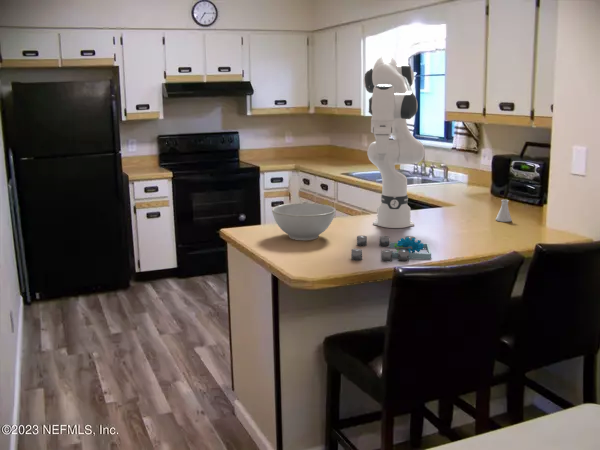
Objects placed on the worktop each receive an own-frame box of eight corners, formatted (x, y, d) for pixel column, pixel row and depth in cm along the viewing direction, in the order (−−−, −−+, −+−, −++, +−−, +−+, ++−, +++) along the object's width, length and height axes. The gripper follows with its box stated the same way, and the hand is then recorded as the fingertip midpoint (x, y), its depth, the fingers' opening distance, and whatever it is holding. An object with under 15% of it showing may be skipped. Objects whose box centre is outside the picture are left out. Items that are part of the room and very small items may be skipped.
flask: (505, 218, 298) (506, 198, 295) (514, 221, 291) (516, 201, 289) (492, 219, 295) (493, 199, 293) (501, 222, 289) (503, 201, 287)
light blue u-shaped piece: (389, 247, 245) (389, 242, 245) (428, 248, 243) (428, 243, 243) (389, 257, 230) (389, 252, 230) (431, 259, 228) (431, 253, 228)
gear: (426, 249, 235) (420, 235, 228) (425, 262, 232) (418, 249, 225) (398, 250, 240) (391, 236, 233) (396, 263, 237) (389, 249, 230)
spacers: (354, 242, 252) (354, 234, 251) (414, 244, 249) (414, 236, 248) (351, 260, 226) (351, 251, 226) (417, 262, 223) (417, 253, 222)
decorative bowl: (327, 228, 277) (328, 202, 274) (341, 243, 251) (342, 214, 248) (268, 231, 272) (268, 204, 270) (276, 246, 247) (276, 216, 244)
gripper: (374, 126, 244) (373, 161, 247) (373, 129, 224) (372, 167, 227) (390, 126, 243) (389, 161, 246) (391, 130, 223) (390, 168, 227)
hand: (381, 164), depth 237 cm, fingers closed
